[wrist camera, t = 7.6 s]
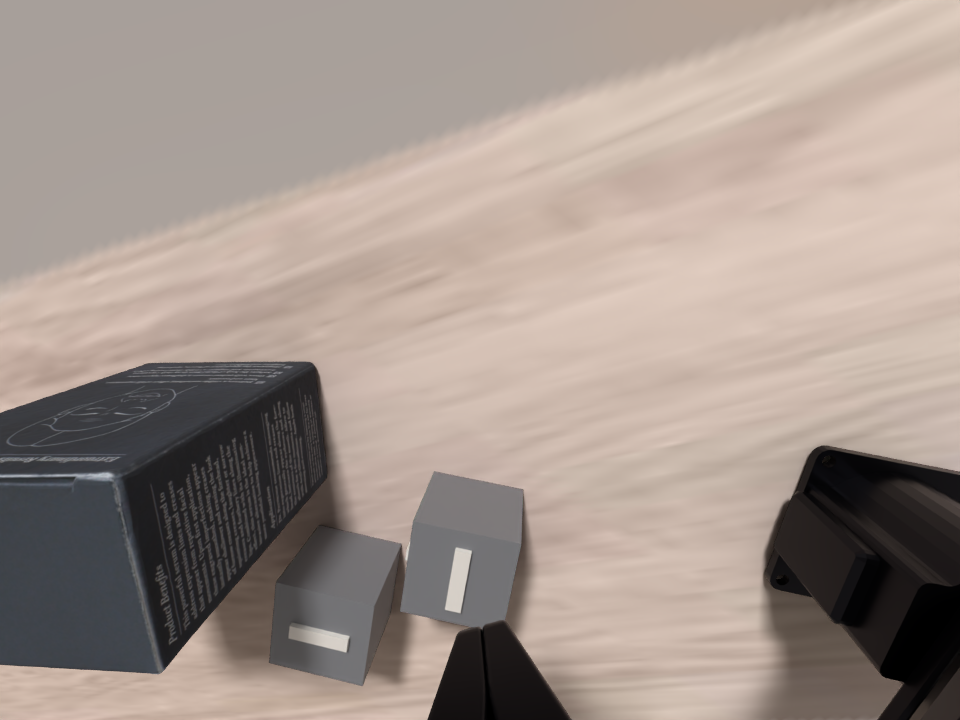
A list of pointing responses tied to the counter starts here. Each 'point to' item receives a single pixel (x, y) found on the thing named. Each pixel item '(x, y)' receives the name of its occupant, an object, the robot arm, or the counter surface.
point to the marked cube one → (463, 551)
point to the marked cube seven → (334, 604)
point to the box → (146, 505)
